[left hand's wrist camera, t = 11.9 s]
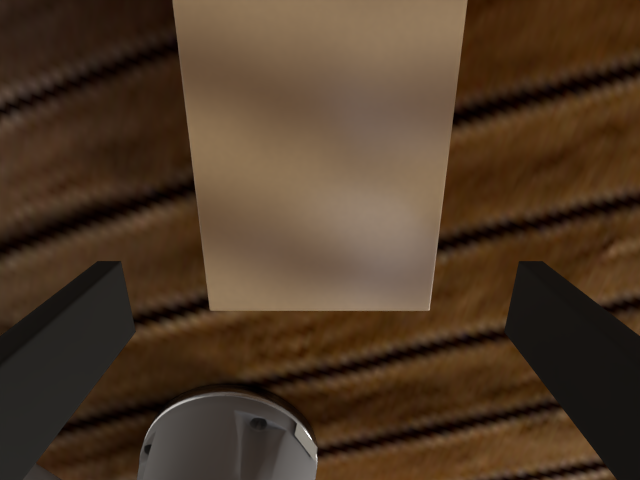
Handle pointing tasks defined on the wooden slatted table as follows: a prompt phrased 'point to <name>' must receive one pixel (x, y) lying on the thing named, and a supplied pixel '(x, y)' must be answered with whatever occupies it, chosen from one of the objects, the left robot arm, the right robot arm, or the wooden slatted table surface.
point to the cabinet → (319, 147)
